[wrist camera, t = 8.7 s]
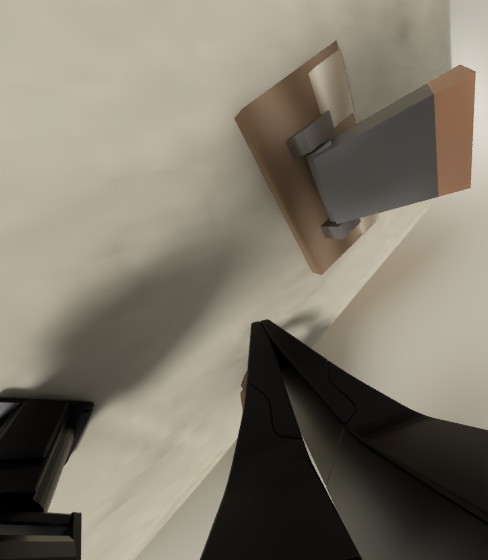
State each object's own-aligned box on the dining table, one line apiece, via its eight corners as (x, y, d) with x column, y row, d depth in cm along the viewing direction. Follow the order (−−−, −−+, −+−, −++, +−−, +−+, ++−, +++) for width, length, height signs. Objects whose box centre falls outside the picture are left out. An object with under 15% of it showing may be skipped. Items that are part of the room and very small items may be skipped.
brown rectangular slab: (312, 272, 24) (337, 280, 21) (234, 118, 16) (256, 91, 12) (366, 219, 26) (397, 219, 23) (322, 53, 17) (362, 14, 14)
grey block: (325, 229, 19) (470, 190, 13) (299, 163, 16) (475, 66, 10) (332, 209, 22) (458, 167, 15) (310, 148, 18) (460, 60, 12)
